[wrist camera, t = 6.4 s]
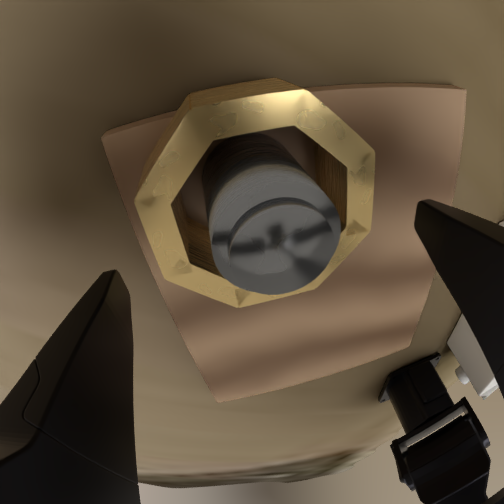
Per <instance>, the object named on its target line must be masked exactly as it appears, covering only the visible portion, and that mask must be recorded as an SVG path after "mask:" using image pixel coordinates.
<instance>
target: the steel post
mask: <svg viewBox="0 0 504 504" xmlns="http://www.w3.org/2000/svg"><path fill="white" fill-rule="evenodd" d="M202 185H203V192H204V199H205V207H206V214H207V221H208V228H209V235H210V241H211V248H212V254H213V259H214V262H215V265H216V267H217V268H218V270H219V272H220V273H221V274H222V276H223V277H224V278H225V279H227V280H228V281H229V282H230V283H232V284H233V285H235V286H237V287H239V288H241V289H244V290H247V291H251V292H256V293H260V294H267V295H278V294H284V293H289V292H292V291H295V290H298V289H300V288H302V287H304V286H306V285H307V284H309V283H311V282H312V281H313V280H314V279H316V278H317V277H318V276H319V275H320V274H321V273H322V272H323V271H324V269H325V268H326V267H327V265H328V263H329V262H330V260H331V258H332V256H333V255H334V253H335V251H336V249H337V246H338V243H339V239H340V233H341V223H340V218H339V214H338V212H337V209H336V208H335V206H334V204H333V203H332V202H331V200H330V199H329V198H328V197H327V196H326V194H325V193H324V192H323V191H322V190H321V188H320V187H319V186H318V185H317V184H316V182H315V181H314V180H313V179H312V178H311V177H310V175H309V174H308V173H307V172H306V171H305V170H304V168H303V167H302V166H301V165H300V164H299V163H298V162H297V160H296V159H295V158H294V157H293V156H292V155H291V154H290V153H289V152H288V150H287V149H286V148H285V147H284V146H283V145H282V144H281V143H280V142H279V141H277V140H276V139H274V138H272V137H270V136H268V135H264V134H261V133H247V134H241V135H236V136H232V137H230V138H228V139H226V140H224V141H223V142H221V143H220V144H219V145H218V146H216V147H215V148H214V149H213V151H212V152H211V153H210V155H209V156H208V158H207V160H206V162H205V164H204V168H203V172H202Z"/></svg>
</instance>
